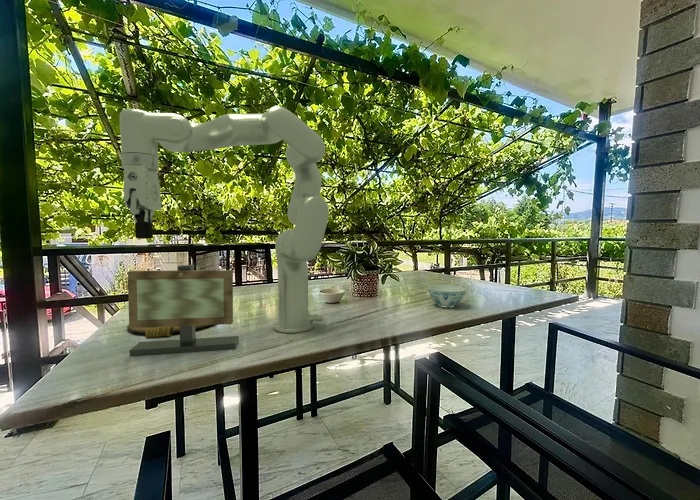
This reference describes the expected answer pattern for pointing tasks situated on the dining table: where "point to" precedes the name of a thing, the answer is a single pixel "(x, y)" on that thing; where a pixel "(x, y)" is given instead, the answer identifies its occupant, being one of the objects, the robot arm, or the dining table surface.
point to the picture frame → (180, 298)
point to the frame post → (185, 340)
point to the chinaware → (446, 294)
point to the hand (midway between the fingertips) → (144, 238)
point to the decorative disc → (160, 330)
